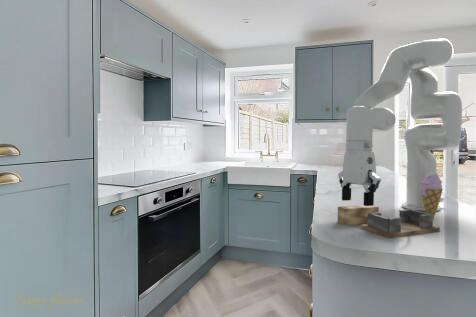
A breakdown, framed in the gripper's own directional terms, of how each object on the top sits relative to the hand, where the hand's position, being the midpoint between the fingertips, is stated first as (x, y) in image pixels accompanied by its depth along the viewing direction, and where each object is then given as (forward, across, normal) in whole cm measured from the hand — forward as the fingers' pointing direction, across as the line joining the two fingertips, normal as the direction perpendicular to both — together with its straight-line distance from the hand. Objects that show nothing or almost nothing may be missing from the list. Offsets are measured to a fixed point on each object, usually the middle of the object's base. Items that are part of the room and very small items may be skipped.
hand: (356, 202), depth 95 cm
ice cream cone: (+6, -5, -25) cm, 26 cm away
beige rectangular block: (+6, 0, -1) cm, 6 cm away
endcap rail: (+6, -11, -6) cm, 14 cm away
